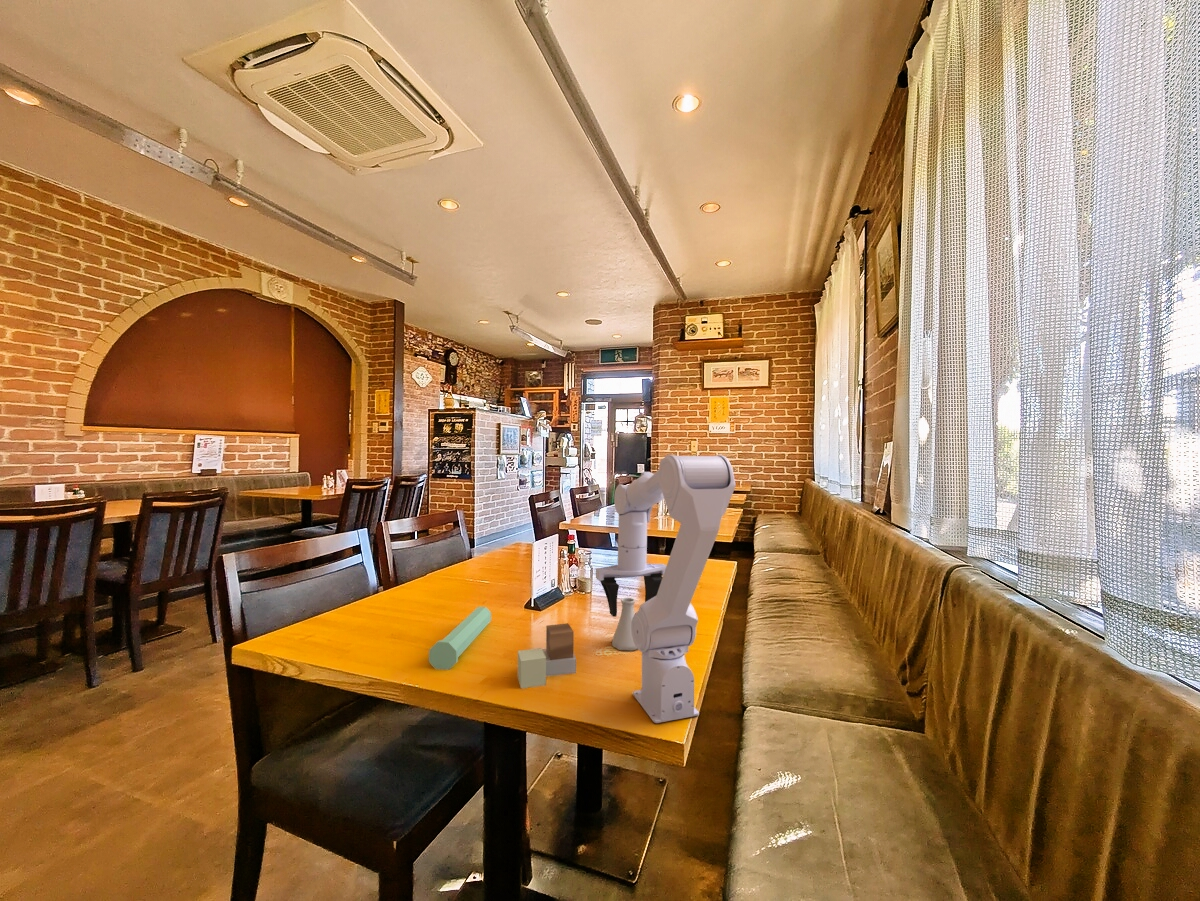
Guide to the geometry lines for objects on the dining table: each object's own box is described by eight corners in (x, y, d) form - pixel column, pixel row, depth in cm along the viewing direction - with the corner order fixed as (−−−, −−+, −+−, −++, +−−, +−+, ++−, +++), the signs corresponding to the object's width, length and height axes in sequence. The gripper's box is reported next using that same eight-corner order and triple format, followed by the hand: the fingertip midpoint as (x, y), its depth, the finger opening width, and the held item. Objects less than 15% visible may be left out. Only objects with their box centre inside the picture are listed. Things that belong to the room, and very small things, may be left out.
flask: (617, 653, 98) (617, 606, 98) (607, 640, 105) (607, 596, 105) (649, 649, 100) (649, 603, 100) (637, 637, 107) (637, 593, 107)
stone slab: (576, 674, 89) (576, 659, 89) (544, 678, 88) (545, 662, 88) (570, 661, 95) (570, 646, 95) (541, 664, 94) (541, 649, 94)
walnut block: (573, 657, 90) (573, 631, 90) (550, 660, 89) (550, 634, 89) (568, 647, 94) (568, 623, 94) (546, 650, 93) (546, 625, 93)
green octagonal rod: (477, 598, 115) (434, 636, 91) (499, 608, 115) (462, 648, 90) (468, 620, 115) (423, 663, 91) (490, 630, 115) (450, 676, 90)
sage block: (545, 685, 85) (546, 657, 85) (521, 689, 83) (521, 661, 83) (541, 674, 89) (541, 647, 89) (517, 677, 87) (517, 650, 87)
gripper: (657, 539, 99) (655, 602, 99) (591, 542, 94) (590, 609, 94) (672, 546, 92) (670, 614, 92) (602, 550, 87) (601, 622, 88)
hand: (631, 612), depth 93 cm, fingers open, 7 cm apart
